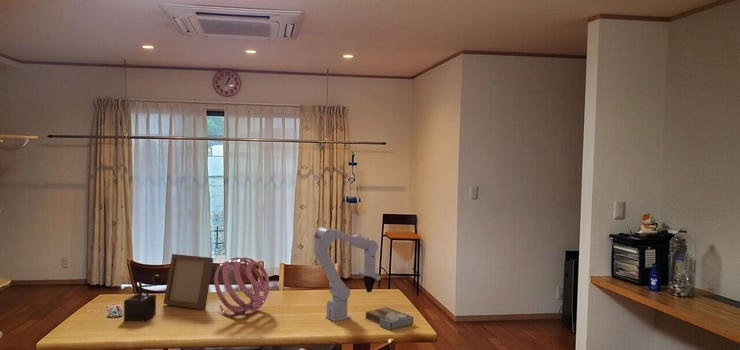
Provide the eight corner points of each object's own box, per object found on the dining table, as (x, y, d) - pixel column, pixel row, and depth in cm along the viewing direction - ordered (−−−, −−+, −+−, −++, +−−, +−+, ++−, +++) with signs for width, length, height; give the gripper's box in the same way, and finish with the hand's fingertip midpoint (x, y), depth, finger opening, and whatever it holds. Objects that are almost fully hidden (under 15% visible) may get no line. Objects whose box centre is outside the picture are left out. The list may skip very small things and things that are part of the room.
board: (382, 325, 219) (382, 318, 219) (365, 318, 228) (365, 311, 228) (403, 319, 227) (403, 313, 227) (386, 313, 237) (386, 307, 236)
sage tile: (400, 323, 220) (400, 318, 220) (393, 320, 223) (393, 315, 223) (407, 321, 223) (407, 316, 222) (400, 319, 226) (400, 313, 226)
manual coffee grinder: (147, 321, 217) (148, 282, 216) (123, 321, 217) (123, 281, 216) (162, 311, 232) (162, 273, 232) (139, 310, 232) (139, 273, 232)
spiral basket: (190, 272, 229) (231, 244, 221) (231, 275, 253) (270, 249, 246) (205, 328, 217) (249, 300, 210) (247, 325, 241) (288, 300, 234)
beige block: (389, 325, 217) (392, 321, 216) (384, 317, 220) (386, 313, 218) (397, 323, 220) (399, 319, 219) (391, 315, 223) (393, 311, 222)
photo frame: (199, 310, 233) (200, 259, 233) (163, 305, 240) (164, 255, 240) (218, 303, 247) (219, 254, 247) (183, 298, 254) (184, 251, 254)
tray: (390, 330, 212) (390, 322, 212) (379, 326, 217) (379, 318, 217) (413, 324, 221) (413, 316, 221) (402, 320, 226) (402, 312, 226)
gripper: (385, 265, 233) (385, 293, 233) (366, 260, 244) (366, 287, 244) (374, 267, 228) (373, 296, 229) (355, 262, 239) (355, 289, 240)
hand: (369, 291), depth 236 cm, fingers closed
